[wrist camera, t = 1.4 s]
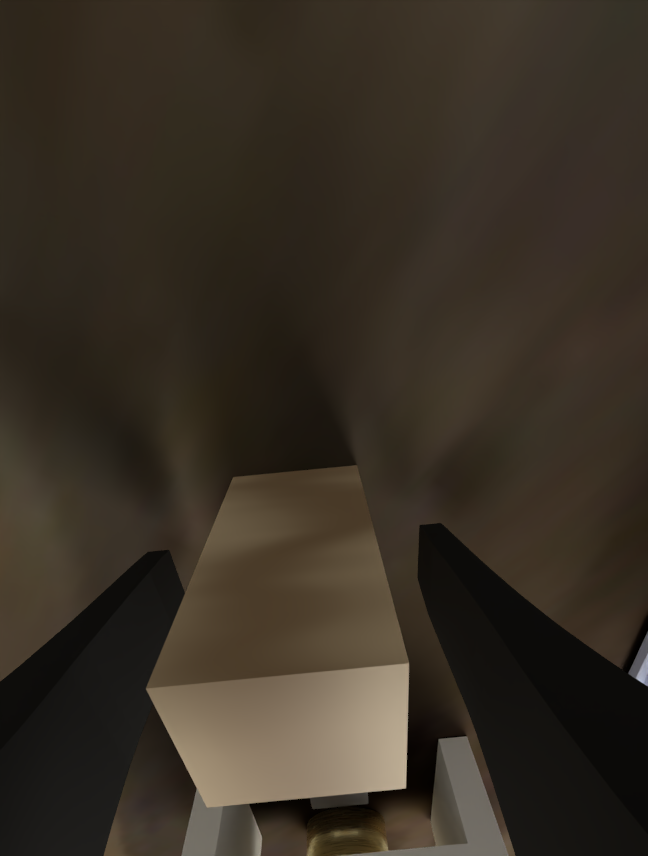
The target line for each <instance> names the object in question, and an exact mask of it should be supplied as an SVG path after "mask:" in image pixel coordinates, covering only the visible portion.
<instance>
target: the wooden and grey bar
mask: <svg viewBox="0 0 648 856" xmlns="http://www.w3.org/2000/svg"><path fill="white" fill-rule="evenodd" d="M146 690H147V692H148V694H149V696H150V698H151V700H152V702H153V704H154V706H155V708H156V710H157V711H158V713H159V715H160V717H161V719H162V721H163V723H164V725H165V727H166V729H167V731H168V733H169V735H170V737H171V739H172V741H173V743H174V745H175V746H176V748H177V750H178V752H179V754H180V756H181V758H182V760H183V762H184V764H185V766H186V768H187V770H188V772H189V774H190V776H191V778H192V780H193V781H194V783H195V785H196V787H197V789H198V791H199V793H200V795H201V797H202V799H203V801H204V803H205V805H206V807H207V808H209V807H219V806H230V805H240V804H251V803H261V802H271V801H282V800H292V799H302V798H310V801H311V805H312V809H320V808H330V807H341V806H351V805H362V804H369V803H368V792H375V791H386V790H396V789H406V769H407V730H408V691H409V661H408V657H407V653H406V649H405V645H404V642H403V638H402V634H401V630H400V626H399V623H398V619H397V615H396V611H395V608H394V604H393V600H392V596H391V592H390V589H389V585H388V581H387V577H386V573H385V570H384V566H383V562H382V558H381V554H380V551H379V547H378V543H377V539H376V535H375V532H374V528H373V524H372V520H371V516H370V513H369V509H368V505H367V501H366V497H365V494H364V490H363V486H362V482H361V479H360V475H359V471H358V467H357V465H353V466H343V467H332V468H322V469H312V470H301V471H291V472H281V473H270V474H260V475H249V476H239V477H233V479H232V481H231V484H230V486H229V488H228V491H227V493H226V496H225V498H224V500H223V503H222V505H221V508H220V510H219V513H218V515H217V517H216V520H215V522H214V525H213V527H212V530H211V532H210V534H209V537H208V539H207V542H206V544H205V546H204V549H203V551H202V554H201V556H200V559H199V561H198V563H197V566H196V568H195V571H194V573H193V576H192V578H191V580H190V583H189V585H188V588H187V590H186V592H185V595H184V597H183V600H182V602H181V605H180V607H179V609H178V612H177V614H176V617H175V619H174V622H173V624H172V626H171V629H170V631H169V634H168V636H167V638H166V641H165V643H164V646H163V648H162V651H161V653H160V655H159V658H158V660H157V663H156V665H155V668H154V670H153V672H152V675H151V677H150V680H149V682H148V684H147V687H146Z"/></svg>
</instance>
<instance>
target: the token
mask: <svg viewBox="0 0 648 856" xmlns="http://www.w3.org/2000/svg"><path fill="white" fill-rule="evenodd" d="M382 851H388V844H387V837H386V829H385V822H384V818H383V816H382V815H381V814H380V813H378V812H376V811H374V810H371V809H367V808H362V807H341V808H335V809H331V810H327V811H324V812H321V813H319V814H317V815H315V816H314V817H313V818H311V819H310V821H309V822H308V824H307V856H341V855H351V854H362V853H372V852H382Z"/></svg>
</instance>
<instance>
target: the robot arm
mask: <svg viewBox="0 0 648 856" xmlns="http://www.w3.org/2000/svg"><path fill="white" fill-rule="evenodd" d="M418 581H419V584H420V588H421V591H422V595H423V598H424V601H425V605H426V608H427V611H428V614H429V617H430V619H431V622H432V624H433V627H434V629H435V632H436V634H437V637H438V639H439V642H440V644H441V646H442V649H443V651H444V654H445V656H446V658H447V661H448V663H449V666H450V668H451V671H452V673H453V675H454V678H455V680H456V683H457V685H458V687H459V690H460V692H461V695H462V697H463V700H464V702H465V704H466V707H467V709H468V712H469V715H470V717H471V720H472V723H473V725H474V728H475V731H476V734H477V737H478V740H479V743H480V746H481V749H482V752H483V755H484V758H485V761H486V764H487V767H488V770H489V773H490V776H491V779H492V782H493V785H494V788H495V792H496V795H497V798H498V801H499V804H500V807H501V811H502V814H503V817H504V820H505V823H506V826H507V830H508V833H509V836H510V839H511V842H512V845H513V849H514V852H515V855H516V856H648V632H647V634H646V636H645V638H644V640H643V642H642V645H641V647H640V649H639V651H638V653H637V655H636V658H635V660H634V662H633V664H632V666H631V668H630V671H629V673H626V672H625V671H623V670H622V669H620V668H619V667H617V666H616V665H614V664H613V663H611V662H610V661H608V660H607V659H605V658H604V657H602V656H601V655H600V654H598V653H597V652H595V651H594V650H593V649H591V648H590V647H588V646H587V645H586V644H584V643H583V642H581V641H580V640H579V639H577V638H576V637H574V636H573V635H572V634H570V633H569V632H567V631H566V630H565V629H563V628H562V627H561V626H559V625H558V624H557V623H555V622H554V621H553V620H552V619H550V618H549V617H548V616H546V615H545V614H544V613H543V612H541V611H540V610H539V609H538V608H536V607H535V606H534V605H533V604H531V603H530V602H529V601H528V600H526V599H525V598H524V597H523V596H521V595H520V594H519V593H518V592H517V591H515V590H514V589H513V588H512V587H511V586H510V585H508V584H507V583H506V582H505V581H504V580H503V579H502V578H500V577H499V576H498V575H497V574H496V573H495V572H493V571H492V570H491V569H490V568H489V567H488V566H487V565H486V564H484V563H483V562H482V561H481V560H480V559H479V558H478V557H477V556H476V555H475V554H473V553H472V552H471V551H470V550H469V549H468V548H467V547H466V546H465V545H464V544H463V543H462V542H461V541H460V540H458V539H457V538H456V537H455V536H454V535H453V534H452V533H451V532H450V531H449V530H448V529H447V528H446V527H445V526H444V525H442V524H441V523H437V524H427V525H420V528H419V555H418ZM184 595H185V593H184V590H183V587H182V584H181V582H180V579H179V576H178V573H177V571H176V568H175V565H174V562H173V560H172V557H171V554H170V551H169V550H164V551H153V552H147V553H146V554H145V555H144V556H143V557H141V558H140V559H139V560H138V561H137V562H136V563H135V564H134V565H132V566H131V567H130V568H129V569H128V570H127V571H126V572H125V573H124V574H123V575H122V576H120V577H119V578H118V579H117V580H116V581H115V582H114V583H113V584H112V585H111V586H110V587H109V588H107V589H106V590H105V591H104V592H103V593H102V594H101V595H100V596H99V597H98V598H97V599H95V600H94V601H93V602H92V603H91V604H90V605H89V606H88V607H87V608H86V609H85V610H83V611H82V612H81V613H80V614H79V615H78V616H77V617H76V618H75V619H74V620H72V621H71V622H70V623H69V624H68V625H67V626H66V627H64V628H63V629H62V630H61V631H60V632H59V633H57V634H56V635H55V636H54V637H53V638H52V639H50V640H49V641H48V642H47V643H46V644H45V645H44V646H42V647H41V648H40V649H39V650H38V651H37V652H35V653H34V654H33V655H32V656H31V657H30V658H28V659H27V660H26V661H25V662H24V663H23V664H21V665H20V666H19V667H18V668H17V669H15V670H14V671H13V672H12V673H10V674H9V675H8V676H7V677H6V678H4V679H3V680H2V681H1V682H0V856H103V855H104V851H105V848H106V844H107V841H108V837H109V834H110V830H111V827H112V823H113V820H114V816H115V813H116V810H117V806H118V803H119V800H120V797H121V793H122V790H123V787H124V783H125V780H126V777H127V773H128V770H129V767H130V764H131V761H132V758H133V755H134V752H135V750H136V747H137V744H138V741H139V738H140V736H141V733H142V731H143V728H144V725H145V723H146V720H147V718H148V715H149V712H150V710H151V707H152V705H153V702H152V700H151V698H150V696H149V694H148V692H147V690H146V687H147V684H148V682H149V680H150V677H151V675H152V672H153V670H154V668H155V665H156V663H157V660H158V658H159V655H160V653H161V651H162V648H163V646H164V643H165V641H166V638H167V636H168V634H169V631H170V629H171V626H172V624H173V622H174V619H175V617H176V614H177V612H178V609H179V607H180V605H181V602H182V600H183V597H184Z"/></svg>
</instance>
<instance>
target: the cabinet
mask: <svg viewBox="0 0 648 856" xmlns="http://www.w3.org/2000/svg"><path fill="white" fill-rule="evenodd" d="M431 825H432V830H433V834H434V839H435V843H436V846H435V847H424V848H414V849H403V850H393V851H382V852H372V853H362V854H351V855H341V856H508V853H507V850H506V847H505V844H504V841H503V839H502V836H501V833H500V830H499V827H498V824H497V821H496V819H495V816H494V813H493V810H492V807H491V804H490V801H489V799H488V796H487V793H486V790H485V787H484V784H483V781H482V778H481V776H480V773H479V770H478V767H477V764H476V761H475V758H474V756H473V753H472V750H471V747H470V744H469V741H468V738H467V736H464V737H454V738H444V739H438V749H437V759H436V770H435V780H434V790H433V801H432V811H431ZM261 845H262V836H261V833H260V831H259V828H258V825H257V823H256V820H255V818H254V815H253V813H252V810H251V808H250V805H249V804H240V805H230V806H219V807H209V808H207V807H206V805H205V803H204V801H203V799H202V797H201V795H200V793H199V791H198V789H197V790H196V794H195V798H194V803H193V807H192V811H191V816H190V820H189V825H188V829H187V833H186V838H185V842H184V846H183V851H182V855H181V856H261Z"/></svg>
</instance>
